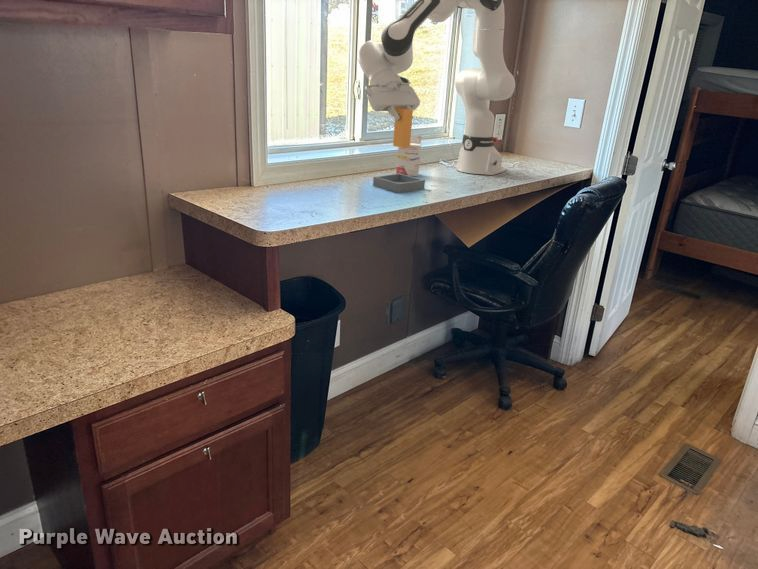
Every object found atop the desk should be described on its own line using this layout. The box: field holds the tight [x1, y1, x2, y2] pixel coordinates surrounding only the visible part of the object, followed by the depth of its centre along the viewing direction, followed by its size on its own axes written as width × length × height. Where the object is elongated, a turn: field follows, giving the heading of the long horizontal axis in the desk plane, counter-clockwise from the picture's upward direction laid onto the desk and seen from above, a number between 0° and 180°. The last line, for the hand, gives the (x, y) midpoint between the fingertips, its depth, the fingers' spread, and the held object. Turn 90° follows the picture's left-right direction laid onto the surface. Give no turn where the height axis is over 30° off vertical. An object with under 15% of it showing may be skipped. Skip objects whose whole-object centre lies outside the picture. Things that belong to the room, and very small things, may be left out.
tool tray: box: [372, 173, 426, 194], centre depth 193 cm, size 13×13×3 cm
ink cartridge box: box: [395, 134, 422, 177], centre depth 212 cm, size 9×5×15 cm, turn 84°
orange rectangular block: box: [392, 108, 414, 148], centre depth 186 cm, size 4×4×12 cm
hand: (404, 119), depth 184 cm, fingers closed on orange rectangular block, 4 cm apart
